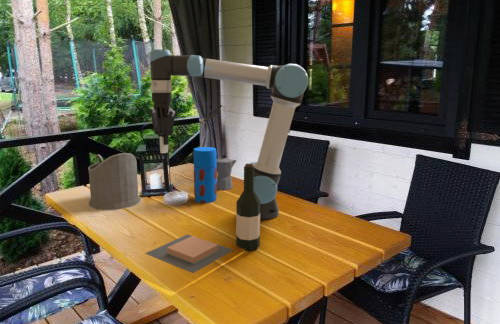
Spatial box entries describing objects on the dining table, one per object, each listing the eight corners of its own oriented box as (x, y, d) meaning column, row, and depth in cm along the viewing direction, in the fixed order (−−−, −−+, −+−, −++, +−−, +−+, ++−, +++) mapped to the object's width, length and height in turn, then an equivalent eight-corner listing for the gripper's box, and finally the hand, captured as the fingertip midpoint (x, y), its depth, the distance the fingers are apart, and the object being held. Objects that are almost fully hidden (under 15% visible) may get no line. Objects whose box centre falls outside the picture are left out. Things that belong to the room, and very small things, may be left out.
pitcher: (100, 214, 169) (96, 157, 163) (74, 196, 192) (70, 146, 186) (149, 202, 184) (147, 150, 179) (120, 188, 207) (117, 141, 201)
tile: (167, 247, 130) (193, 257, 123) (192, 235, 139) (218, 244, 133) (167, 254, 130) (193, 264, 124) (192, 242, 140) (218, 251, 133)
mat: (145, 255, 131) (145, 253, 131) (187, 236, 147) (187, 234, 147) (193, 275, 119) (193, 273, 118) (233, 252, 135) (233, 249, 134)
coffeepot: (234, 184, 216) (234, 152, 212) (238, 189, 207) (238, 156, 203) (206, 186, 212) (206, 153, 208) (209, 191, 204) (208, 157, 200)
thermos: (212, 204, 183) (212, 151, 178) (191, 202, 185) (190, 150, 180) (219, 197, 194) (219, 147, 188) (198, 195, 196) (197, 146, 190)
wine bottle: (246, 239, 145) (247, 160, 138) (264, 245, 140) (266, 164, 133) (231, 246, 139) (231, 164, 132) (249, 253, 133) (250, 168, 127)
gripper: (142, 91, 149) (145, 152, 154) (166, 92, 142) (168, 156, 147) (157, 90, 155) (160, 149, 160) (181, 92, 148) (182, 153, 153)
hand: (164, 152), depth 154 cm, fingers closed
